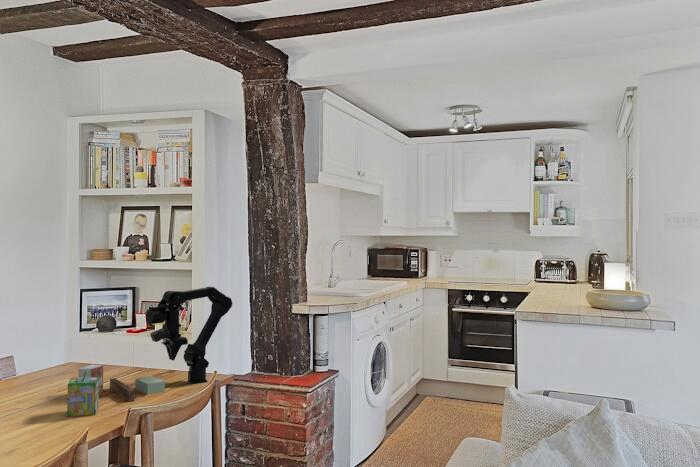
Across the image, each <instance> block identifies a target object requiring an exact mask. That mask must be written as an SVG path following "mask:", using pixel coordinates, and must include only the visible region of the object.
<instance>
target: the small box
mask: <svg viewBox="0 0 700 467" xmlns="http://www.w3.org/2000/svg"><path fill="white" fill-rule="evenodd" d="M87 369H88V370H87ZM86 370H87V374H86V377H98V376H99V393H98V394H100V393H103V392H104V365H102V364H90V365H87V366H84V367H80V368H78V377H84V374H85V371H86Z"/></svg>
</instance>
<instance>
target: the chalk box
mask: <svg viewBox="0 0 700 467" xmlns="http://www.w3.org/2000/svg"><path fill="white" fill-rule="evenodd" d="M87 370H88V369H87ZM87 370H86V371H85V374H84V377H79V376H78V377H77V376H76V377H71V379H70V380H69V382H68V383H67V413H66V416H67V418H71V417H83V416H84V417H85V416H86V417H87V416H95V415H96V414H97V413H98V410H99V394H100V393H99V376H98V377H86V374H87Z"/></svg>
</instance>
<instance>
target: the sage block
mask: <svg viewBox="0 0 700 467" xmlns="http://www.w3.org/2000/svg"><path fill="white" fill-rule="evenodd" d="M165 383H166V382H165V380H163V379H161V378H158V377H156V376H153V375H148V376H142V377H138V378H135V387H134V388H135V389H134V390H137V391H138V392H141V393H143V394H144V395H147V396H149V395H154V394H155V395H156V394H160V393H161V394H162V393H165V392H166V391H165V390H166V389H165V388H166V384H165Z"/></svg>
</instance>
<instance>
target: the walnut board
mask: <svg viewBox="0 0 700 467" xmlns="http://www.w3.org/2000/svg"><path fill="white" fill-rule="evenodd" d="M109 389H110V390H111V391H112V392H114V393H115V394H117V395H119V396H120V397H121V398H123V399H124V400H126V401H128V403H129V402H130V403H131V402H135V398H136V397H135V394H136V392H135V390H136V389H134V388H132V387H130V386H128V385H127V384H125V383H124V382H122V381H121V380H119V379H117V378H116V377H115V378H114V377H113V378H109Z"/></svg>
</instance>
